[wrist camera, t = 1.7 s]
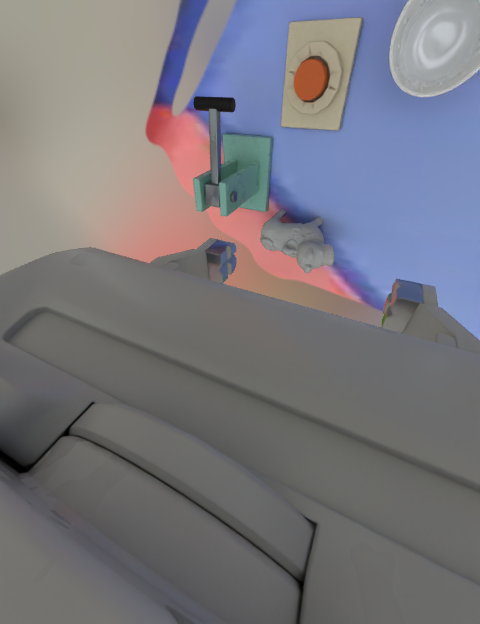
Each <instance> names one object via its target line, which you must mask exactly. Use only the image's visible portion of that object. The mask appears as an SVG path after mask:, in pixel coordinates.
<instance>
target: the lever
mask: <svg viewBox="0 0 480 624" xmlns="http://www.w3.org/2000/svg"><path fill="white" fill-rule="evenodd" d="M194 108H195V109H196V110H199V111H209V134H210V162H211V182H209V183H207V184H205V192H206V205H209V206H214V207H220V191H219V182H221V131H220V112H234V110H235V99H234V98H227V97H195V98H194Z"/></svg>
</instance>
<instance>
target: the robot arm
mask: <svg viewBox="0 0 480 624" xmlns="http://www.w3.org/2000/svg"><path fill="white" fill-rule="evenodd" d="M235 252H236V245H235V244H234V243H230V242H226V241H222V240H218V239H212V238H210V239H208V240H207V241H206V242H205V243H203V244H202V245H201V246H200V247H198V248H197V249H192V250H187V251H183V252H179V253H175V254H171V255H166V256H162V257H158V258H156V259H155V260H153V261H152V262H151V263H146V262H142V261H138V260H135V259H132V258H128V257H125V256H121V255H117V254H114V253H110V252H106V251H103V250H100V249H96V248H91V247H89V248H79V249H72V250H66V251H61V252H56V253H53V254H49V255H46V256H44V257H41V258H39V259H36V260H34V261H32V262H29V263H27V264H25V265H22V266H20V267H18V268H15V269H13V270H10V271H8V272H6V273H4V274H1V275H0V624H480V340H479V339H477V338H476V337H475V336H474V335H473V334H472V333H470V332H469V331H468V330H467V329H466V328H465V327H463V326H462V325H461V324H460V323H459V322H458V321H456V320H455V319H454V318H453V317H452V316H451V315H449V314H448V313H447V312H446V311H445V310H444V309H442V308H440V307H438V302H437V295H436V289H435V287H434V286H431V285H425V284H420V283H415V282H410V281H405V280H400V279H396V280H395V282H394V284H393V286H392V293H390V294H389V295H388V297H387V299H386V302H385V305H384V309H383V314H384V316H383V319H382V328H381V327H377V326H374V325H370V324H367V323H363V322H359V321H356V320H352V319H348V318H345V317H341V316H337V315H334V314H330V313H326V312H323V311H319V310H316V309H312V308H308V307H305V306H301V305H298V304H294V303H290V302H287V301H283V300H280V299H276V298H272V297H269V296H265V295H262V294H258V293H254V292H251V291H247V290H243V289H240V288H236V287H233V286H229V285H226V284H223V283H224V281H226V279H227V278H228V275H229V274H232V273H233V271H234V269H235V267H236V257H235V255H234V253H235Z"/></svg>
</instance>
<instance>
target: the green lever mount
mask: <svg viewBox="0 0 480 624" xmlns="http://www.w3.org/2000/svg"><path fill="white" fill-rule="evenodd" d="M272 145H273V137H267V136H255V135H243V134H230V133H225V134H223V151H224V163H223V164H221V182H219V191H220V210H221V216H226V217H227V216H228V215H229V214H231V213H232V212H233V211H234V210H236V209H237V208H238V207H240V208H246V209H251V210H257V211H263V212H266V211H267V210H268V204H269V189H270V174H271V160H272ZM209 182H211V170H209V171H207V172H205V173H203V174H201V175H199V176H197V177H195V178H193V183H194V191H195V200H196V207H197V211H201V212H203V211H204V210H206V209H207V208H209V207H210V206H209V205H206V192H205V184H207V183H209Z"/></svg>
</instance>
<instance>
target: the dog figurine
mask: <svg viewBox="0 0 480 624" xmlns="http://www.w3.org/2000/svg"><path fill="white" fill-rule="evenodd" d="M285 214H286V211H285V210H280V211H279V212H278V213H277V214H276V215H275V216H273V217H272V218H271V219H270V220H268V221H267V222H266V223H265V224H264V225H263V228H262V232H261V238H260V240H261V242H262V245H263V246H264V247H265V248H266V249H268V250H271V251H277V250H279V251H281V252H283V253H284V254H286V255H289V256H291V257H296V258H297V262H298V264H299V266H300V267H301V268H302V269H303V270H304V272H305V273H310V271H311V269H315V268H320V267H321V266H323V265H327V266H331V265H332V264H333V262H334V250H333V248H332V246H331V245H325V243H324V237H323V234H322V232H321V231H320V229H319V228H318V226H319V225H321V224H322V223H323V219H322V218H321V217H317V218H316V219H315V220H313V221H312V222H310V223H305V224H302V223H282V222H280V219H281V217H282V216H284V215H285Z"/></svg>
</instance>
